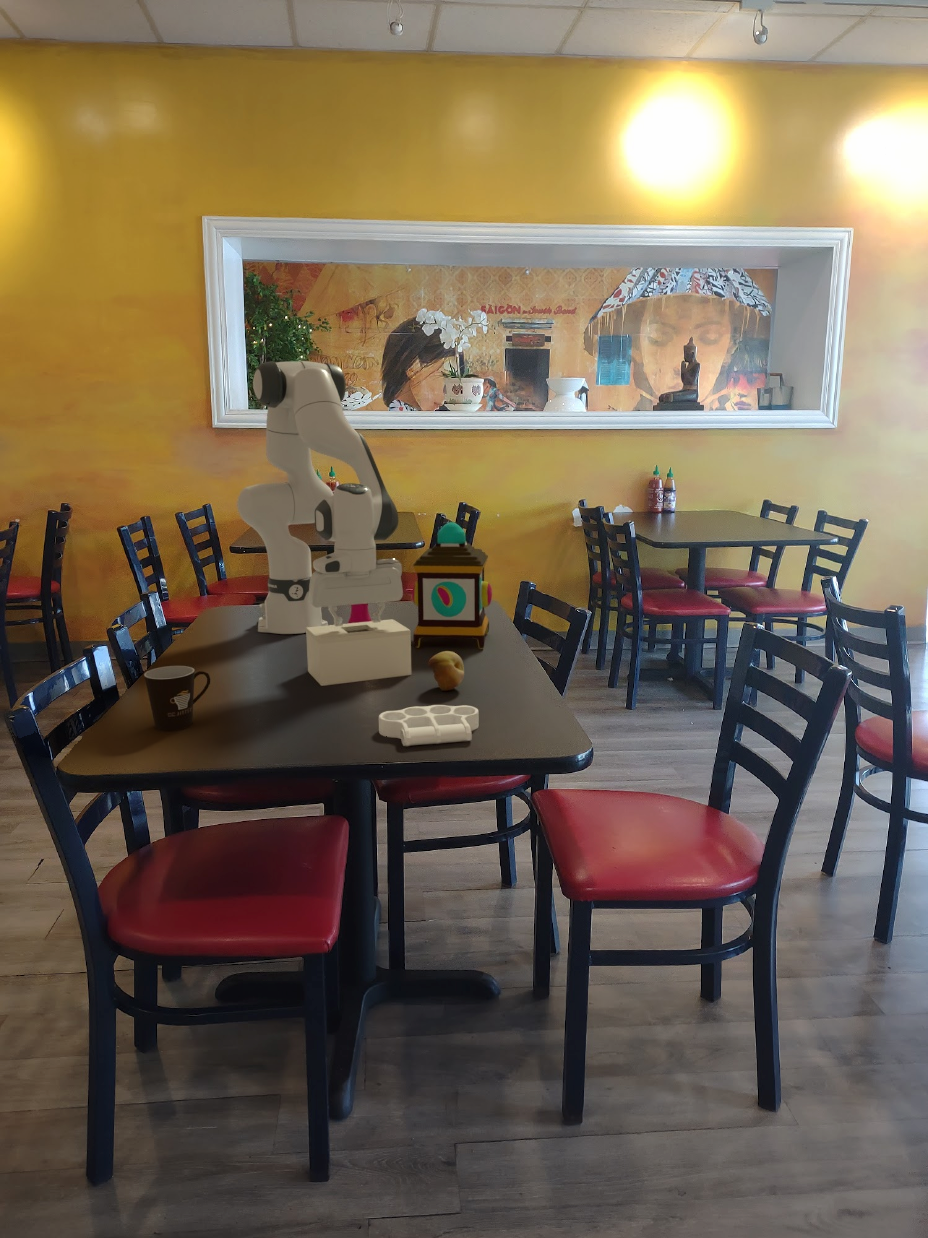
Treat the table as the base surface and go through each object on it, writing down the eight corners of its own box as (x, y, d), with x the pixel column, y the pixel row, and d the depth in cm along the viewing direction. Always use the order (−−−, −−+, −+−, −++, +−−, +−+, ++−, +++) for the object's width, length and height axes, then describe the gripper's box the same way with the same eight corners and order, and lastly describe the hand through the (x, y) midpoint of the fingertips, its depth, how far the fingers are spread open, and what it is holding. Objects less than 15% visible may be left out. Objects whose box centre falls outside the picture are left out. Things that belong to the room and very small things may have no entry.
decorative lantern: (494, 632, 226) (494, 518, 219) (489, 651, 207) (489, 526, 200) (419, 631, 228) (417, 517, 221) (407, 649, 209) (404, 526, 202)
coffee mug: (150, 736, 151) (145, 681, 148) (147, 721, 158) (142, 669, 156) (218, 726, 155) (214, 673, 153) (212, 712, 163) (208, 661, 161)
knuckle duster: (385, 752, 143) (375, 724, 157) (490, 744, 147) (470, 716, 161) (385, 733, 143) (374, 706, 157) (490, 725, 146) (470, 699, 160)
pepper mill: (370, 654, 204) (368, 571, 200) (341, 653, 205) (338, 571, 201) (379, 647, 211) (377, 566, 207) (351, 646, 212) (348, 566, 208)
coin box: (308, 671, 190) (306, 627, 188) (393, 661, 198) (392, 619, 196) (321, 685, 180) (319, 639, 177) (411, 674, 187) (410, 630, 185)
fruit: (440, 697, 171) (440, 658, 170) (420, 687, 178) (419, 650, 176) (472, 691, 175) (472, 653, 173) (451, 681, 182) (451, 645, 180)
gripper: (396, 555, 190) (398, 616, 193) (305, 561, 182) (308, 625, 185) (406, 559, 185) (407, 622, 188) (312, 566, 177) (315, 631, 180)
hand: (357, 623), depth 186 cm, fingers open, 7 cm apart
